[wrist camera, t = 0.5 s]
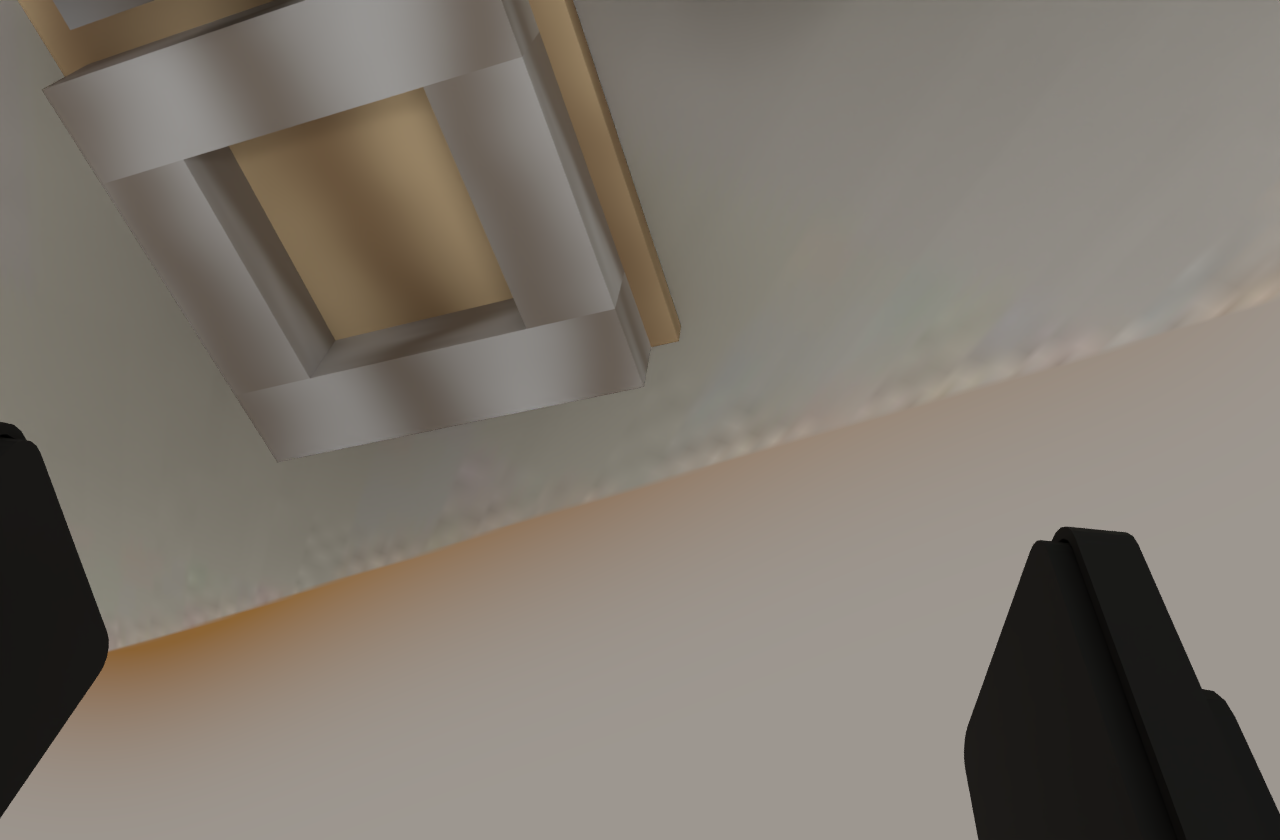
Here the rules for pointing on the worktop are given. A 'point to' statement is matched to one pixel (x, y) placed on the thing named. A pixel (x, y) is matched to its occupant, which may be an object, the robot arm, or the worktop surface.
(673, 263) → the worktop surface
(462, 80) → the dock
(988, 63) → the worktop surface
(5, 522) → the robot arm
